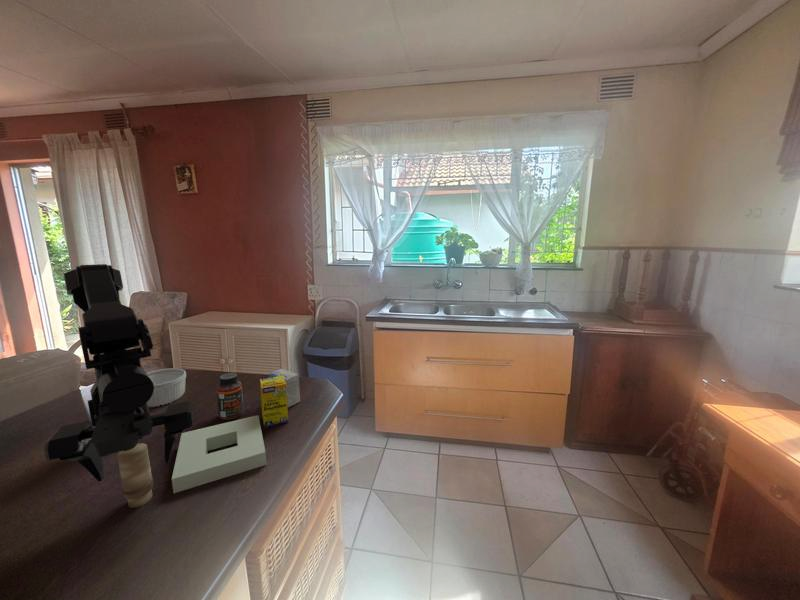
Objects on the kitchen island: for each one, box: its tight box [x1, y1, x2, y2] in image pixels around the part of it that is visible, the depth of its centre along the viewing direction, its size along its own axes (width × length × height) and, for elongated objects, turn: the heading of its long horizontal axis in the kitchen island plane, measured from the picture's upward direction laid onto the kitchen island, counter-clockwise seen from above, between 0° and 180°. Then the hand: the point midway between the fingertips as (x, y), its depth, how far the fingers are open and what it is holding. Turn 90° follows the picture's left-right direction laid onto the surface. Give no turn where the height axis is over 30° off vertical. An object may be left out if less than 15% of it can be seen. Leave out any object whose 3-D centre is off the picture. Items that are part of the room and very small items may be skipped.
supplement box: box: [259, 375, 289, 429], centre depth 81 cm, size 6×6×11 cm
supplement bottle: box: [215, 372, 244, 421], centre depth 83 cm, size 6×6×11 cm
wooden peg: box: [116, 442, 154, 509], centre depth 56 cm, size 4×4×10 cm
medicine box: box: [268, 368, 301, 409], centre depth 91 cm, size 8×4×9 cm, turn 58°
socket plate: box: [171, 414, 267, 494], centre depth 68 cm, size 16×16×3 cm
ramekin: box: [146, 368, 187, 408], centre depth 92 cm, size 13×13×7 cm
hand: (135, 470), depth 56 cm, fingers open, 9 cm apart
